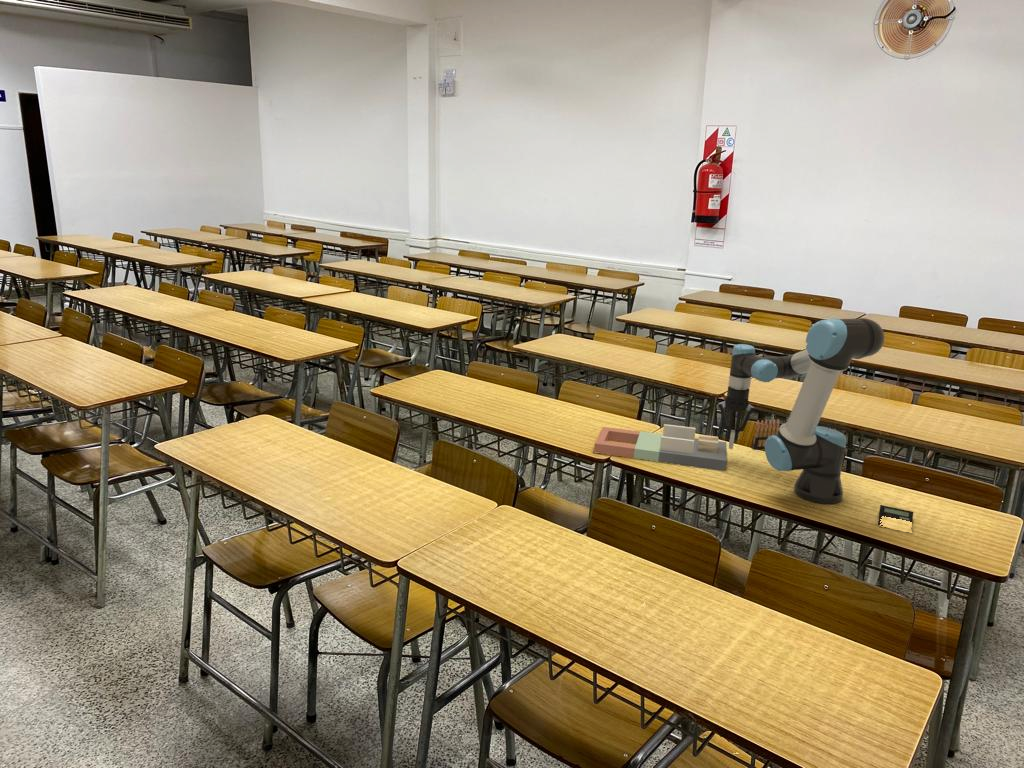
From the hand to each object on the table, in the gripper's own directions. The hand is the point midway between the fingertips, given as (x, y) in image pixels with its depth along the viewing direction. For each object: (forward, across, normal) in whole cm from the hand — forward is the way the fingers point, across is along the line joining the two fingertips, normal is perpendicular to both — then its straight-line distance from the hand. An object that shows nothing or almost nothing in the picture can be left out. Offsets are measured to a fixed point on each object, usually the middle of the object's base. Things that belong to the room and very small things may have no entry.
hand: (730, 447), depth 266 cm
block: (+2, +8, 0) cm, 8 cm away
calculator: (+6, -50, +34) cm, 61 cm away
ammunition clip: (+6, -14, -20) cm, 25 cm away
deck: (+6, +25, 0) cm, 26 cm away
